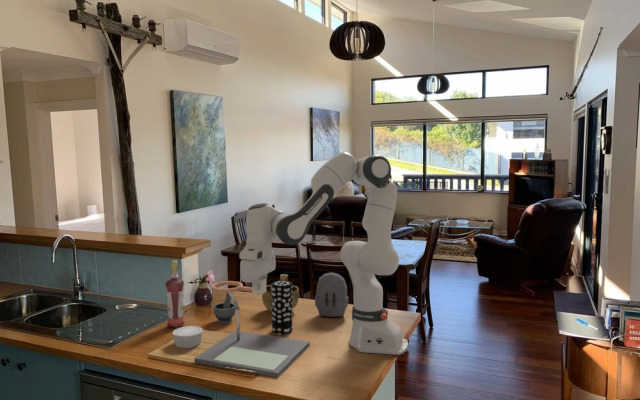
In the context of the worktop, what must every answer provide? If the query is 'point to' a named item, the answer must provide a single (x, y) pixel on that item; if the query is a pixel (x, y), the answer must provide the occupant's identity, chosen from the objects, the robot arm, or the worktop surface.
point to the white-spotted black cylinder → (282, 307)
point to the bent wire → (237, 315)
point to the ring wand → (239, 287)
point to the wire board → (254, 353)
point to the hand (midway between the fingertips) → (259, 288)
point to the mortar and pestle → (224, 310)
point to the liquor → (175, 298)
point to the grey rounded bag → (331, 295)
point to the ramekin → (187, 336)
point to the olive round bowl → (268, 294)
